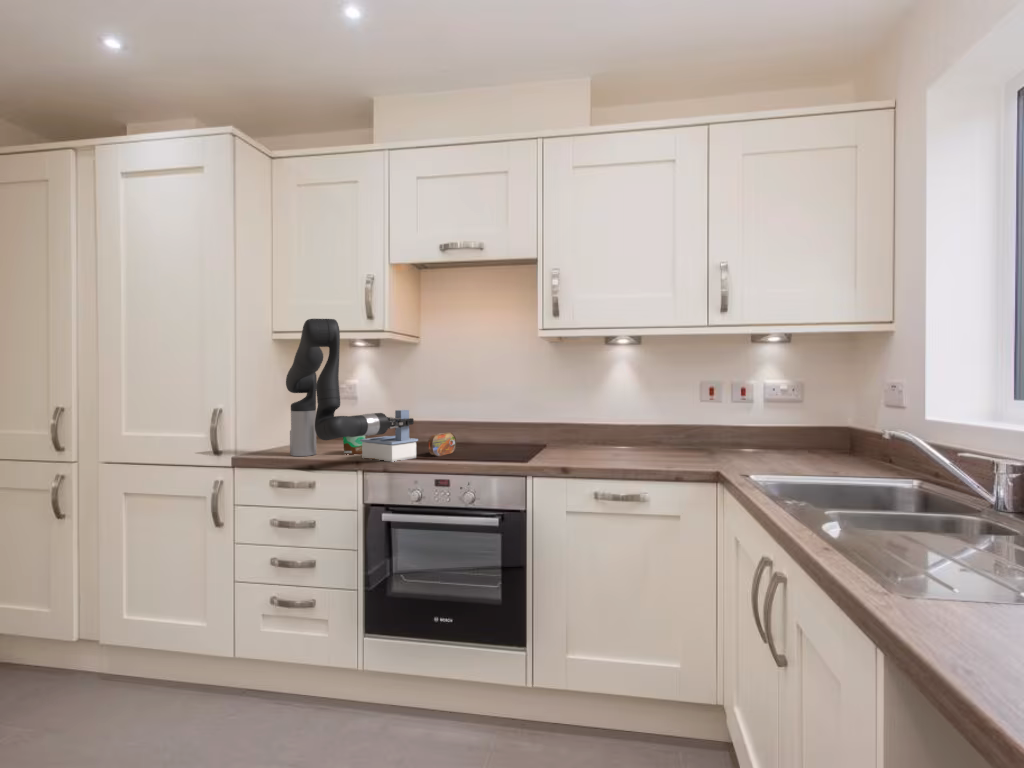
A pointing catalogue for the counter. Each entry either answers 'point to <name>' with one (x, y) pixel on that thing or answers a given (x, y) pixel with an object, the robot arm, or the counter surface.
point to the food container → (353, 445)
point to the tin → (442, 444)
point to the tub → (389, 451)
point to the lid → (400, 433)
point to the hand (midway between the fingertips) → (407, 420)
